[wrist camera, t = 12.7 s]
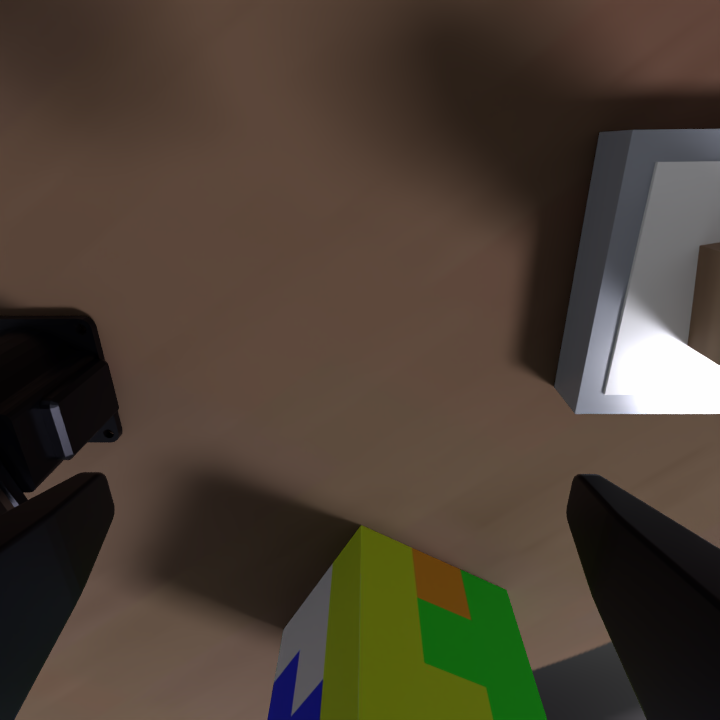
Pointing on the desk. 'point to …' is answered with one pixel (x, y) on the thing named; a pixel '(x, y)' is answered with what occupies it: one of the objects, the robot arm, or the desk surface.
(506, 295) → the desk surface
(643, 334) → the plinth
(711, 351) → the beige rectangular block
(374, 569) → the puzzle toy
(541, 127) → the desk surface
